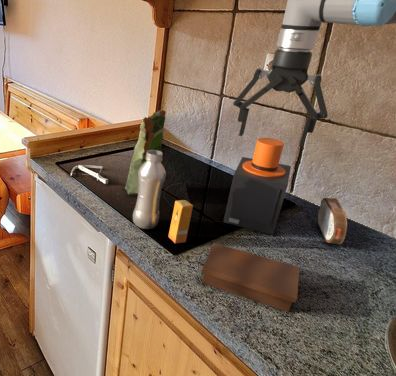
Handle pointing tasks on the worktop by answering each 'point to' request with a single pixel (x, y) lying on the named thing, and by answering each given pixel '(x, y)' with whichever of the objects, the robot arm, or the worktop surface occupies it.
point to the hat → (266, 158)
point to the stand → (252, 276)
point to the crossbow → (91, 172)
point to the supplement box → (180, 221)
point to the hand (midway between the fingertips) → (270, 139)
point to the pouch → (145, 147)
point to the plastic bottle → (149, 191)
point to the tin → (332, 221)
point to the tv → (256, 199)
